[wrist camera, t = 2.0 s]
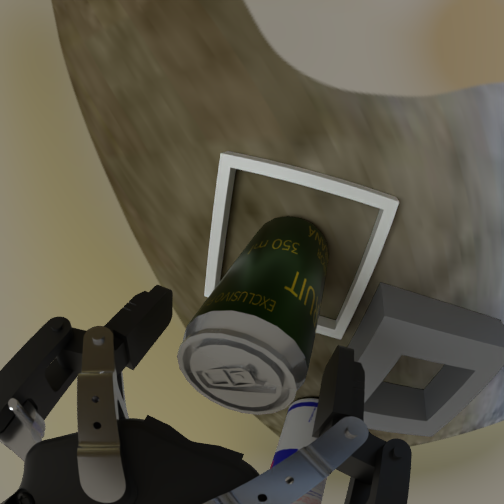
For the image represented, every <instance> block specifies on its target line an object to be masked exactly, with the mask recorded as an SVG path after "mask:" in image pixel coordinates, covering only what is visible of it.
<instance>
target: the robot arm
mask: <svg viewBox="0 0 504 504" xmlns="http://www.w3.org/2000/svg"><path fill="white" fill-rule="evenodd" d="M171 318H172V290H170V289H167V288H165V287H162V286H159V285H156V286H155V287H154V288H153V289H152V290H151V291H150V292H146V291H144V292H142V293H140V294H137V295H135V296H134V297H133V298H132V299H131V300H130V301H129V303H127V304H126V305H125V306H124V308H122V309H121V310H120V311H119V312H118V313H117V314H116V315H115V316H114V317H113V318H112V319H111V320H110V321H109V322H108V323H107V324H106V325H105V326H104V327H103V326H96V327H92V328H90V329H89V330H87V331H84V330H80V329H76V328H72V327H71V324H70V322H69V320H68V319H66V318H64V317H54V318H52V319H50V320H49V321H48V322H47V323H46V324H45V325H44V326H43V327H42V328H41V329H40V330H39V331H38V332H37V333H36V334H35V335H34V336H33V337H32V338H31V339H30V340H29V341H28V342H27V343H26V344H25V345H24V346H23V347H22V348H21V349H20V350H19V351H18V352H17V353H16V354H15V355H14V357H13V358H12V359H11V360H10V361H9V362H8V363H7V364H6V365H5V366H4V367H3V369H2V370H1V371H0V442H1V443H3V444H4V445H5V446H7V447H8V448H9V449H10V450H12V451H13V452H14V453H15V454H16V455H18V456H19V457H20V458H21V459H22V460H23V461H24V462H25V463H24V474H23V478H22V482H21V485H20V487H19V489H18V490H17V491H16V492H15V494H13V495H12V496H10V497H9V498H8V499H6V500H5V501H3V502H2V503H1V504H292V503H293V502H295V501H296V500H298V499H299V498H300V497H302V496H303V495H304V494H306V493H307V492H309V491H310V490H311V489H312V488H314V487H315V486H316V485H318V484H319V483H320V482H321V481H323V480H324V479H325V478H326V477H327V476H329V474H331V472H332V471H333V470H335V469H337V470H339V471H341V472H343V473H345V474H347V475H349V476H351V478H350V482H349V487H348V491H347V495H346V499H345V503H344V504H407V499H408V490H409V481H410V470H411V449H410V447H409V445H408V444H407V443H406V442H405V441H403V440H401V439H391V440H389V441H388V442H386V441H384V440H382V439H380V438H378V437H376V436H374V435H372V434H371V433H370V432H369V431H368V427H367V425H366V424H365V423H364V397H365V391H364V390H365V384H364V383H365V371H364V369H363V366H362V364H361V363H360V362H356V361H354V349H351V348H347V347H343V346H340V345H338V346H337V348H336V350H335V351H334V353H333V355H332V357H331V359H330V360H329V362H328V364H327V366H326V368H325V371H324V374H323V377H322V383H321V390H320V395H319V401H318V407H317V412H316V418H315V423H314V428H313V433H312V437H315V438H317V439H316V440H315V441H313V442H312V443H311V444H309V445H308V446H306V447H303V448H301V449H299V450H298V451H296V452H295V453H294V454H292V455H291V456H289V457H288V458H286V459H285V460H283V461H282V462H280V463H278V464H277V465H275V466H274V467H272V468H271V469H269V470H267V471H266V472H264V473H263V474H261V475H259V473H258V472H257V471H256V470H255V469H254V468H253V467H252V466H251V465H249V464H248V463H247V462H245V461H244V460H242V458H243V455H244V454H242V453H239V452H235V451H233V450H230V449H227V448H224V447H221V446H217V445H210V444H203V443H197V442H192V441H190V440H188V439H187V438H185V437H184V436H183V435H181V434H180V433H179V432H178V431H176V430H175V429H174V428H172V427H171V426H170V425H168V424H165V423H163V422H161V421H159V420H157V419H155V418H153V417H151V416H149V415H147V417H146V419H145V420H143V419H134V418H132V419H131V418H129V417H128V413H127V409H126V403H125V395H124V385H123V375H122V371H123V369H124V368H125V367H128V368H130V369H132V370H134V368H135V367H136V366H137V365H138V363H139V362H140V361H141V359H142V358H143V357H144V356H145V354H146V353H147V352H148V350H149V349H150V348H151V346H152V345H153V344H154V342H156V340H157V339H158V337H159V336H160V335H161V334H162V333H163V331H164V330H165V329H166V327H167V326H168V325H169V323H170V321H171ZM51 362H52V363H51ZM50 363H51V364H50ZM77 376H78V377H77ZM76 377H77V419H78V432H76V433H72V434H68V435H64V436H61V437H56V438H52V439H47V440H44V441H42V438H43V437H44V431H45V422H44V420H45V418H46V417H47V416H48V414H49V413H50V411H51V410H52V409H53V407H54V406H55V405H56V403H57V402H58V401H59V399H60V398H61V397H62V395H63V394H64V393H65V391H66V390H67V389H68V387H69V386H70V385H71V383H72V382H73V381H74V380H75V378H76Z"/></svg>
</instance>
